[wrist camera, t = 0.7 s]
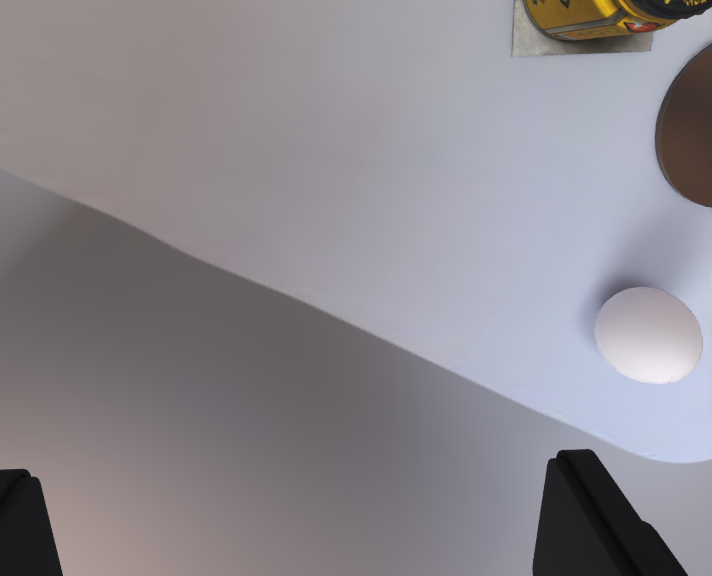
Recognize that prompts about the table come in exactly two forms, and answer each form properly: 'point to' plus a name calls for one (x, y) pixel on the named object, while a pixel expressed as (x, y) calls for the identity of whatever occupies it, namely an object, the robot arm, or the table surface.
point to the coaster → (688, 131)
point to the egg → (648, 335)
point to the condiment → (594, 24)
